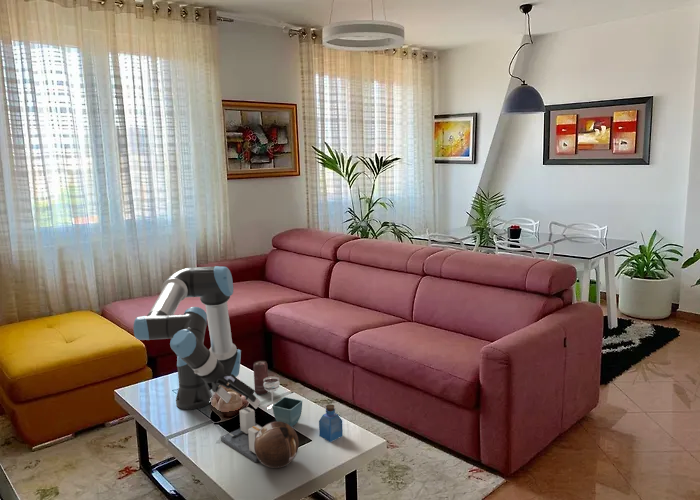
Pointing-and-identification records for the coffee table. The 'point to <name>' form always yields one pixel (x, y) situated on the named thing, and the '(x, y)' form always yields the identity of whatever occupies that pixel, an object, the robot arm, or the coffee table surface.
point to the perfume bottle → (330, 425)
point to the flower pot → (288, 410)
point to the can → (260, 376)
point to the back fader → (247, 419)
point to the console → (240, 443)
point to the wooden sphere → (276, 444)
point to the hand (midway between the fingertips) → (243, 402)
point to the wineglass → (271, 387)
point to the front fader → (253, 436)
